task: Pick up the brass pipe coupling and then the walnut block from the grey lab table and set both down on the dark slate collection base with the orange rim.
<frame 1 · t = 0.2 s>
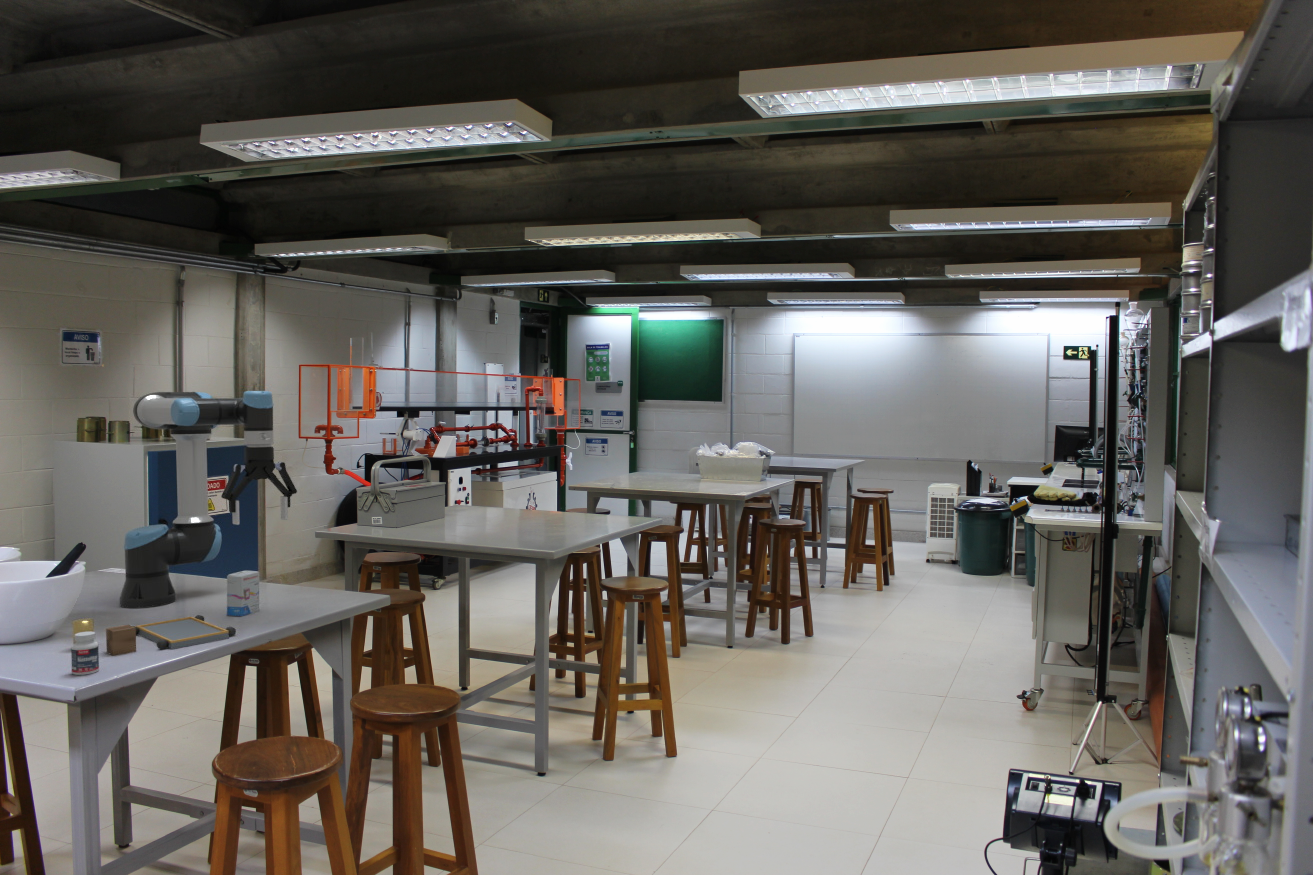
hand: (260, 521, 255), 28 cm above the table, fingers open, 13 cm apart
walnut block: (121, 652, 224), on the table
collection base: (181, 635, 239), on the table
pill bottle: (85, 672, 207), on the table
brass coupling: (83, 648, 228), on the table
ink box: (243, 613, 265), on the table
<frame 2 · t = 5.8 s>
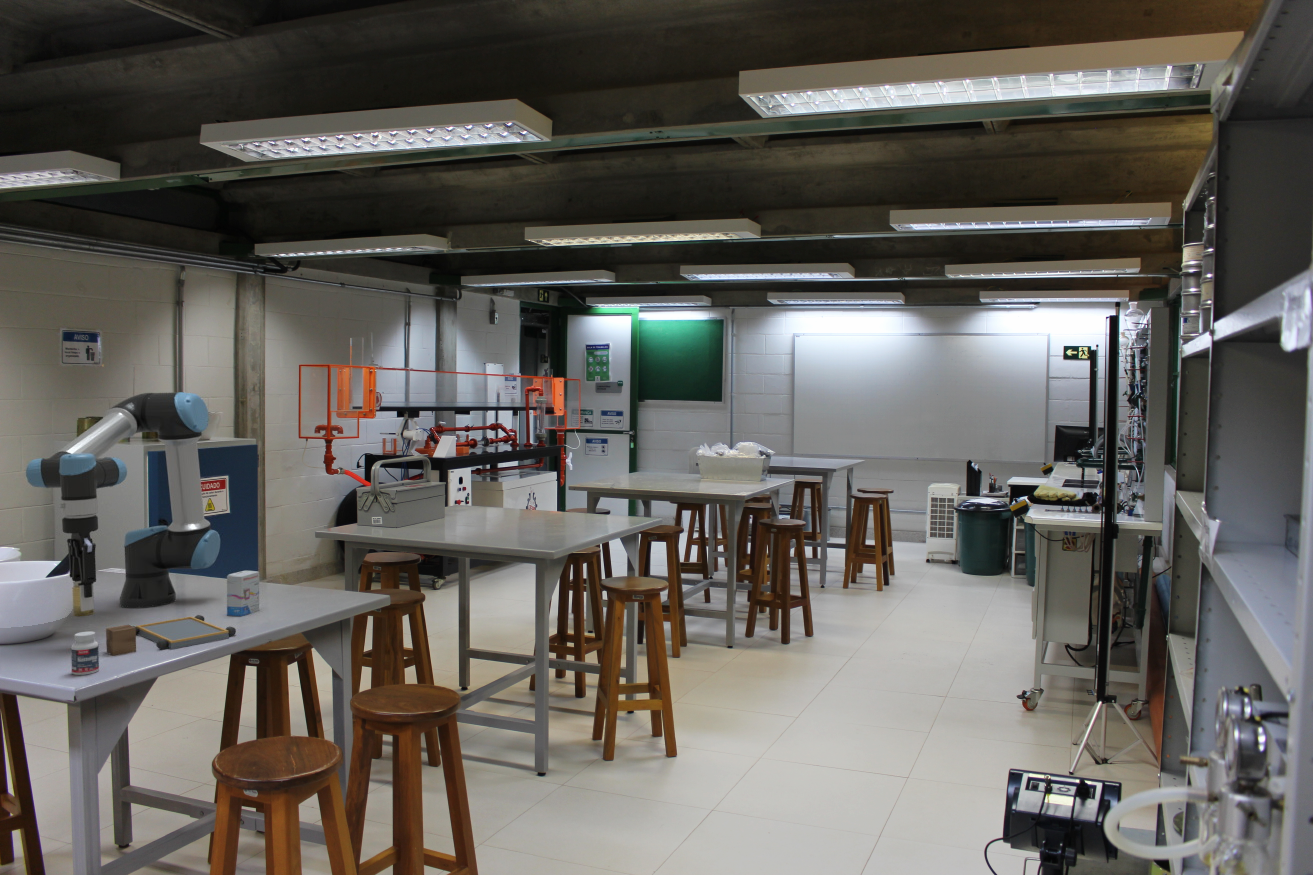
hand: (84, 608, 228), 10 cm above the table, fingers closed on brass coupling, 4 cm apart
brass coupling: (84, 614, 228), point 8 cm above the table, touching gripper
everything else where it was.
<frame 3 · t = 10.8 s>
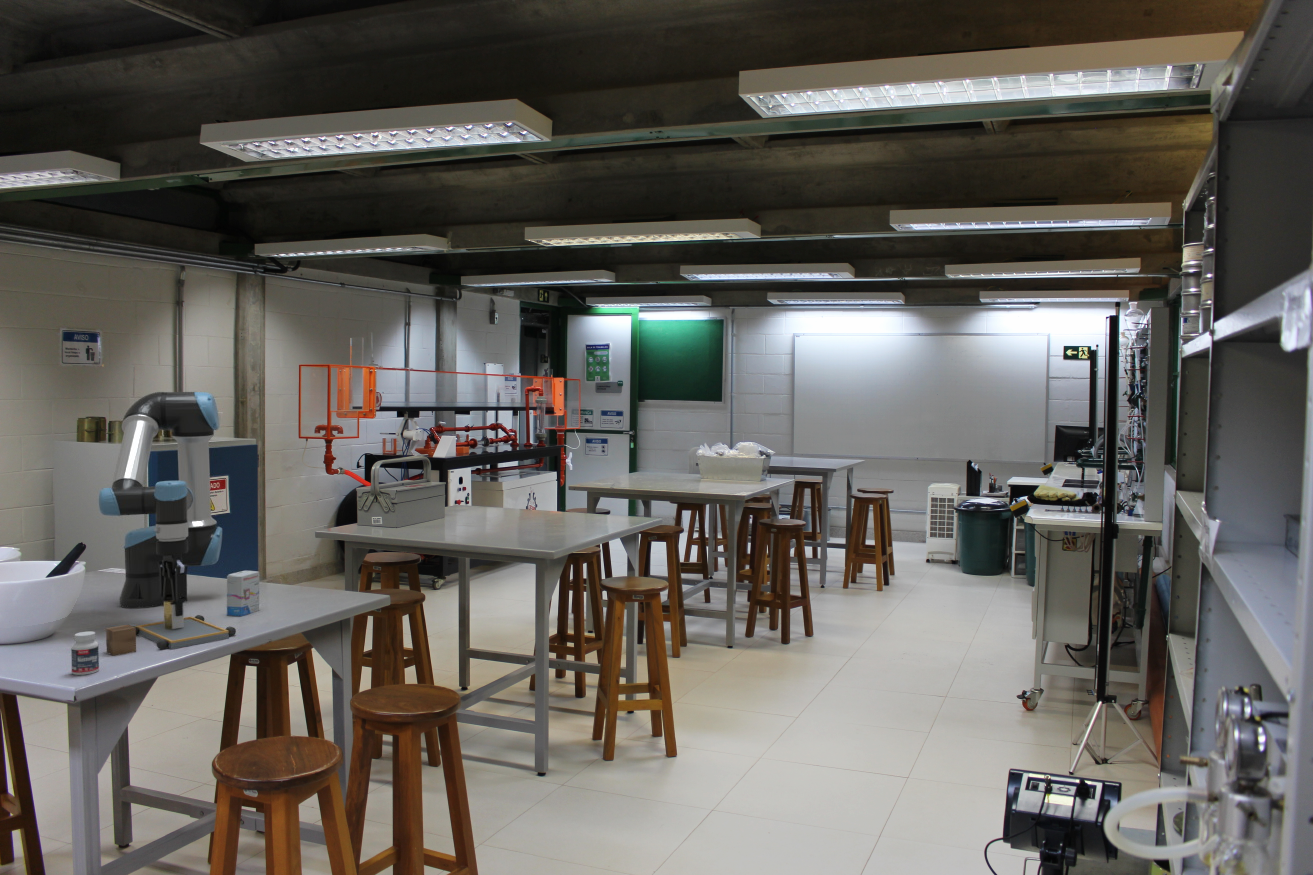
hand: (174, 626, 242), 2 cm above the table, fingers closed on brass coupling, collection base, 5 cm apart
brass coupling: (174, 627, 243), point 1 cm above the table, touching collection base, gripper
everything else where it was.
when the fingers open (2 cm above the table, at t = 11.1 s): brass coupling stays where it is, resting on collection base.
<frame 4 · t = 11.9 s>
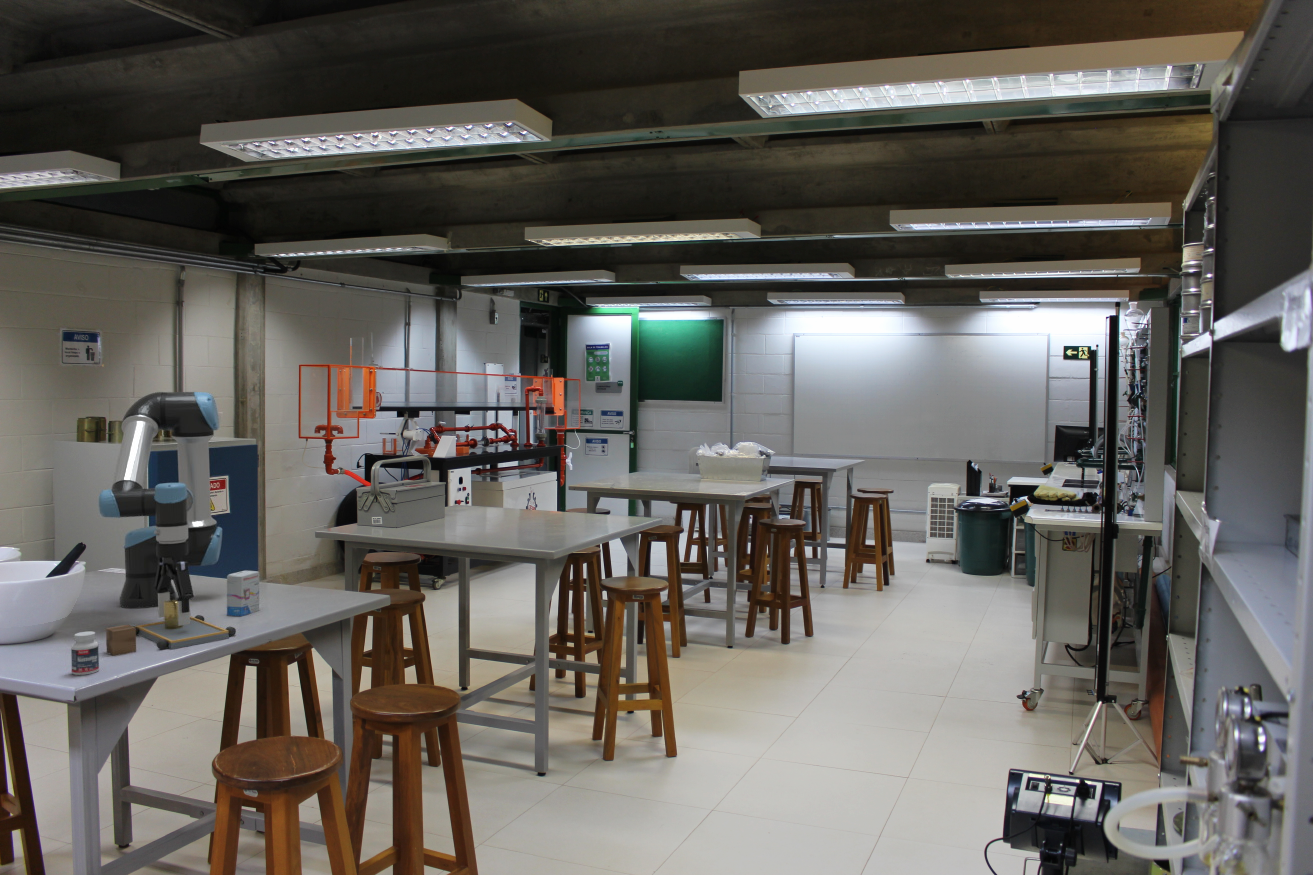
hand: (174, 620, 243), 3 cm above the table, fingers open, 13 cm apart
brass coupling: (174, 627, 243), point 1 cm above the table, touching collection base
everything else where it was.
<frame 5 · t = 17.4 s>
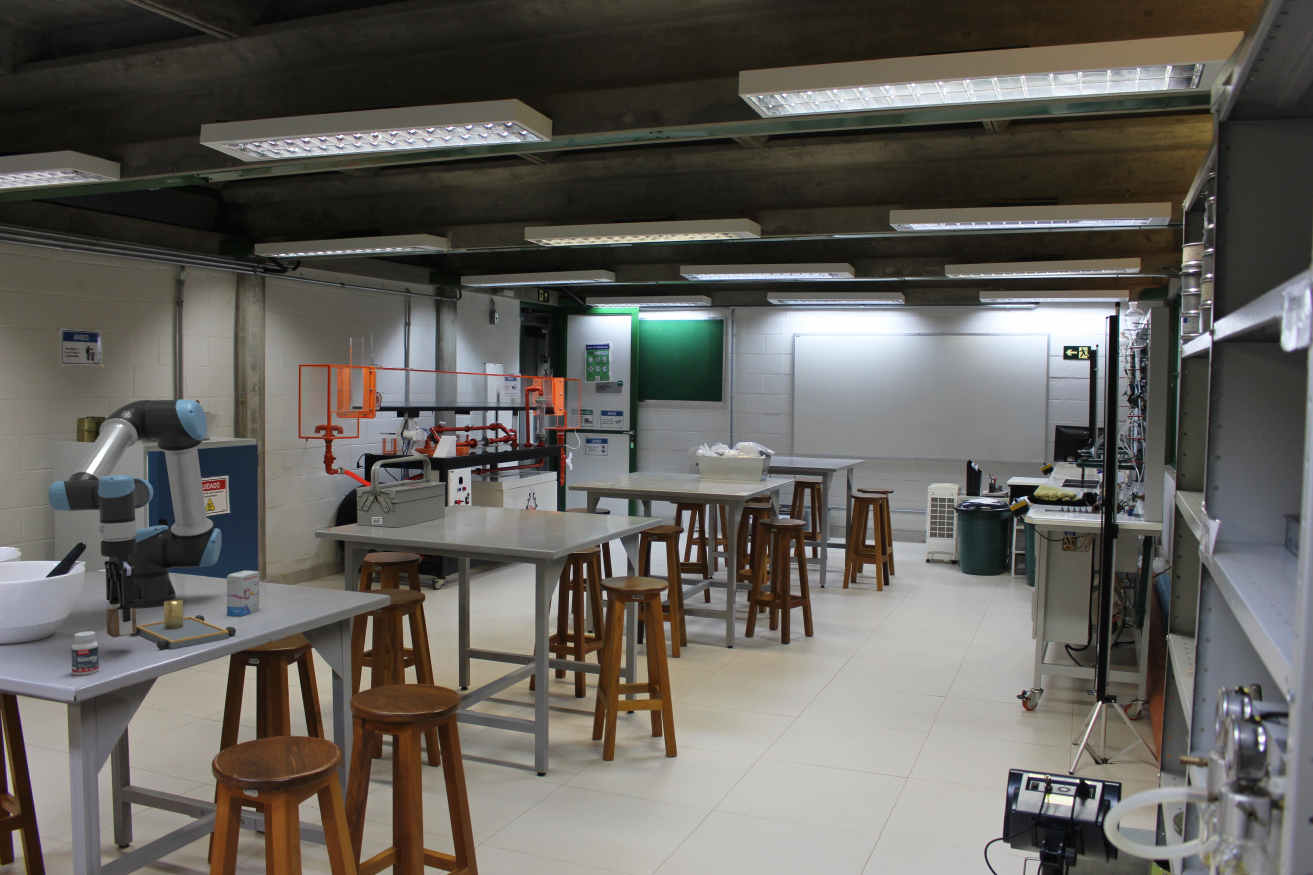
hand: (121, 631, 225), 5 cm above the table, fingers closed on walnut block, 5 cm apart
walnut block: (121, 633, 225), point 4 cm above the table, touching gripper
everything else where it was.
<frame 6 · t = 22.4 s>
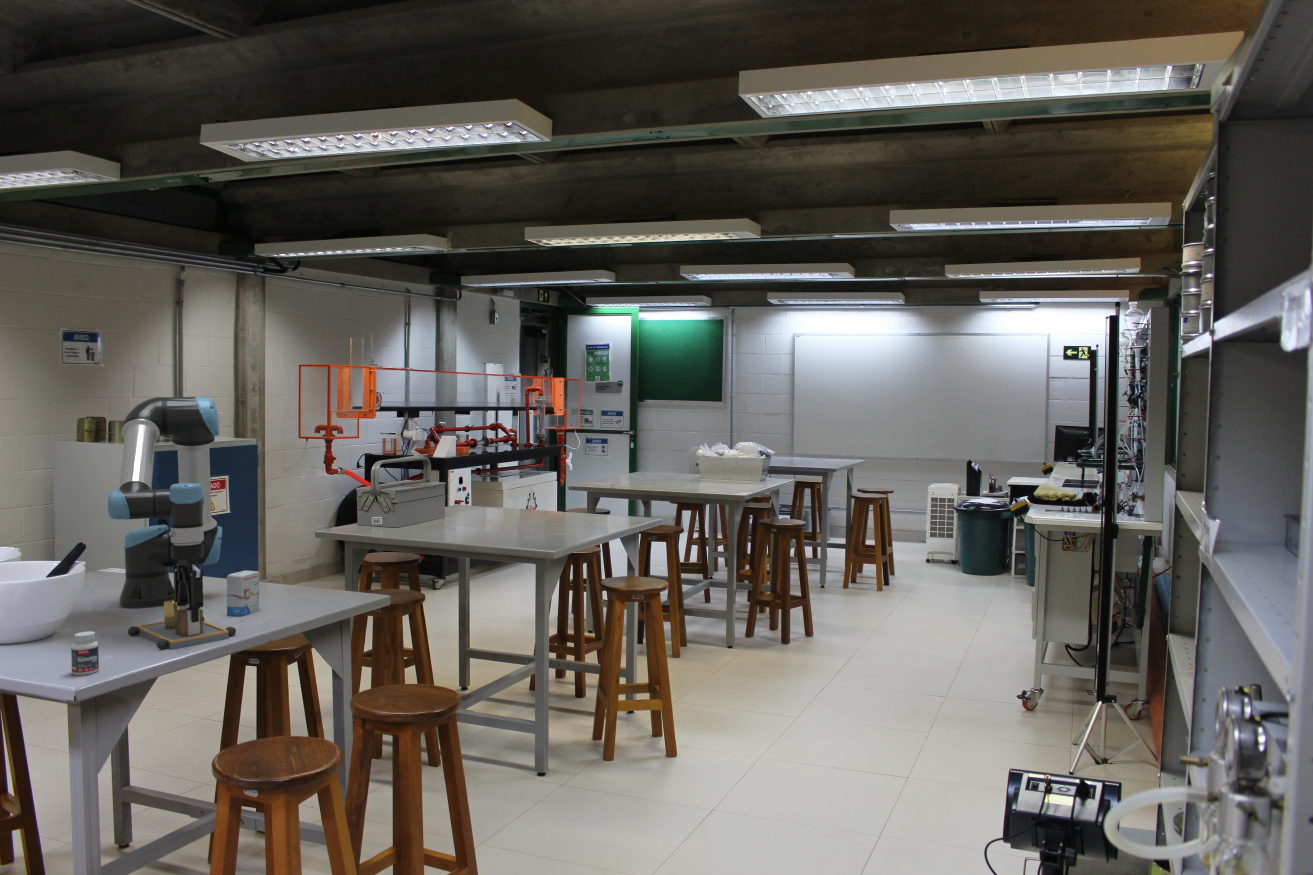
hand: (189, 632, 236), 2 cm above the table, fingers closed on collection base, walnut block, 5 cm apart
walnut block: (189, 633, 236), point 1 cm above the table, touching collection base, gripper
everything else where it was.
when the fingers open (2 cm above the table, at t = 22.7 s): walnut block stays where it is, resting on collection base.
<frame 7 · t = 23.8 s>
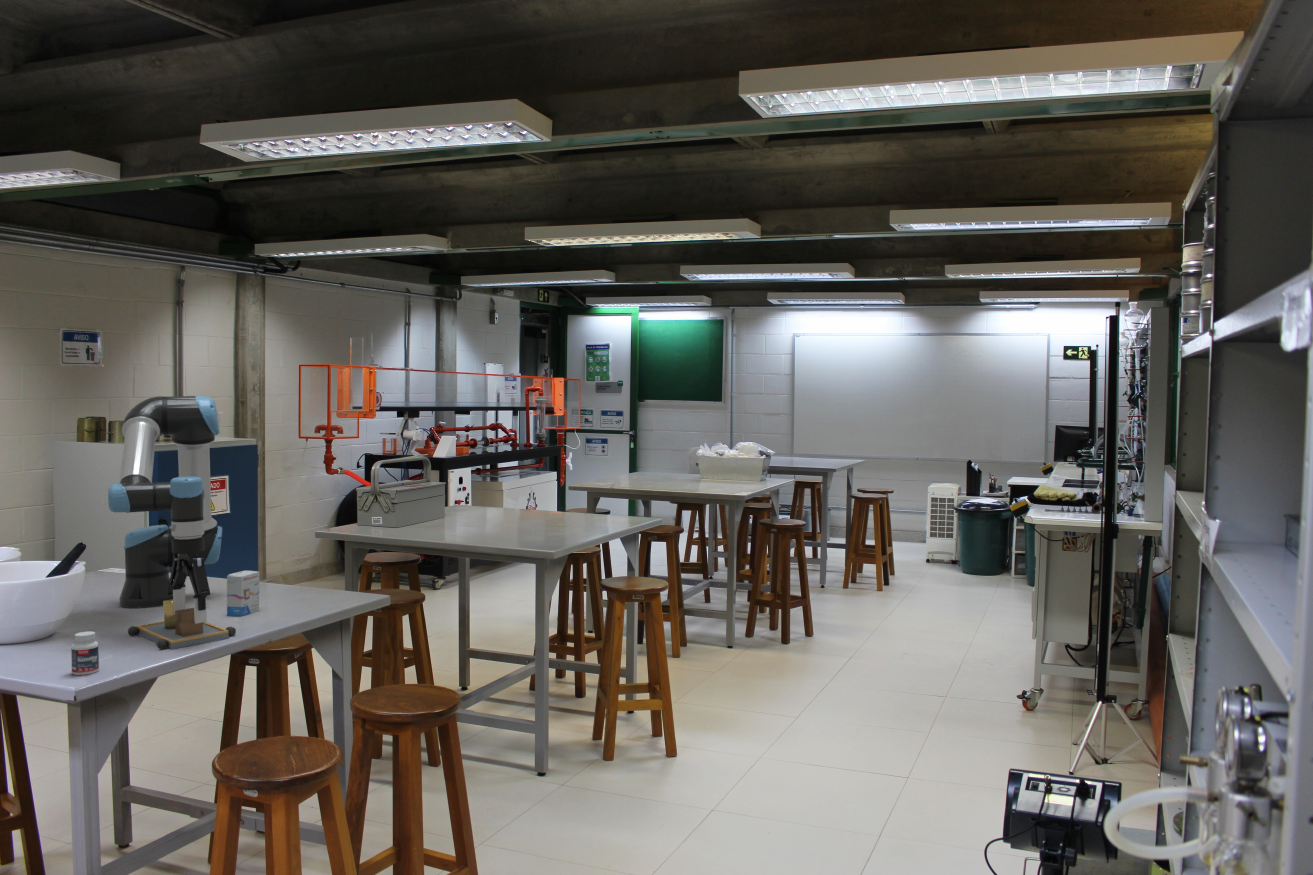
hand: (189, 618, 236), 5 cm above the table, fingers open, 13 cm apart
walnut block: (189, 633, 236), point 1 cm above the table, touching collection base
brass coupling: (173, 626, 243), point 2 cm above the table, tilted 7°, touching collection base, gripper
everything else where it was.
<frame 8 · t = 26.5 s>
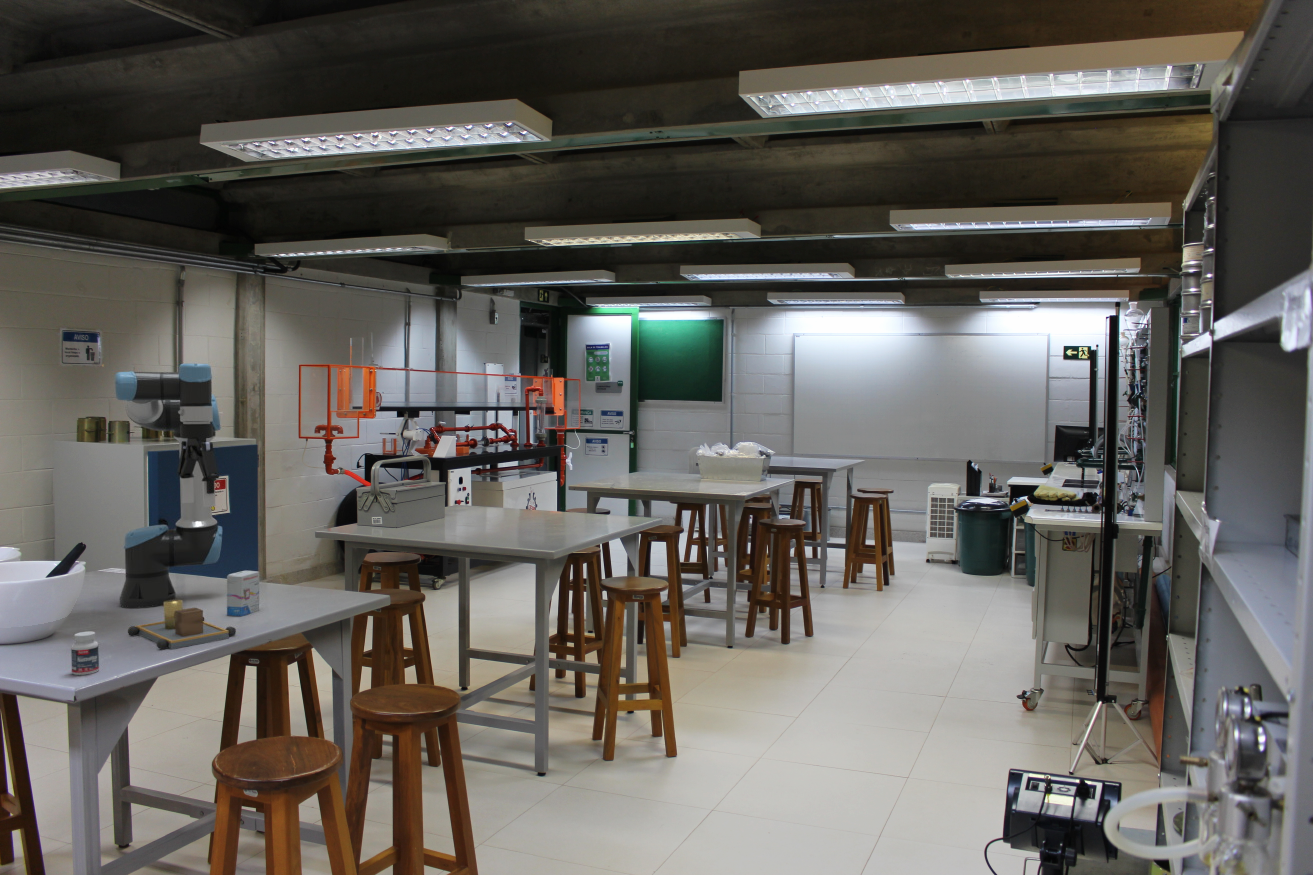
hand: (198, 504, 237), 35 cm above the table, fingers open, 13 cm apart
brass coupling: (174, 627, 242), point 2 cm above the table, touching collection base
everything else where it was.
at the end: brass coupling inside the target area on the collection base (4.6 cm from its centre), point 1.6 cm above the collection base's base; walnut block inside the target area on the collection base (5.1 cm from its centre), point 1.5 cm above the collection base's base; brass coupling tilted 1° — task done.
